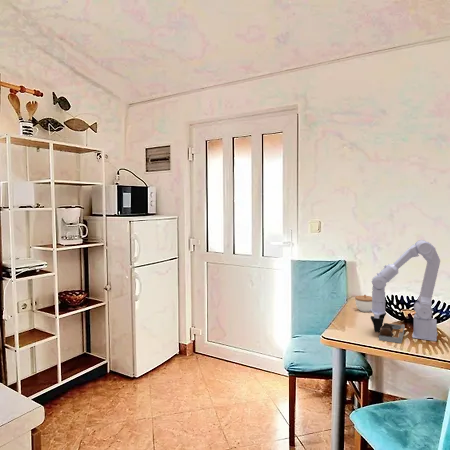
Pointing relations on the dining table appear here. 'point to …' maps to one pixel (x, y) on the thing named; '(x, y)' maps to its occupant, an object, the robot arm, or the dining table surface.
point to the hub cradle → (394, 339)
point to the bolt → (386, 330)
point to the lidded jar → (364, 303)
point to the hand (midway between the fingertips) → (378, 329)
